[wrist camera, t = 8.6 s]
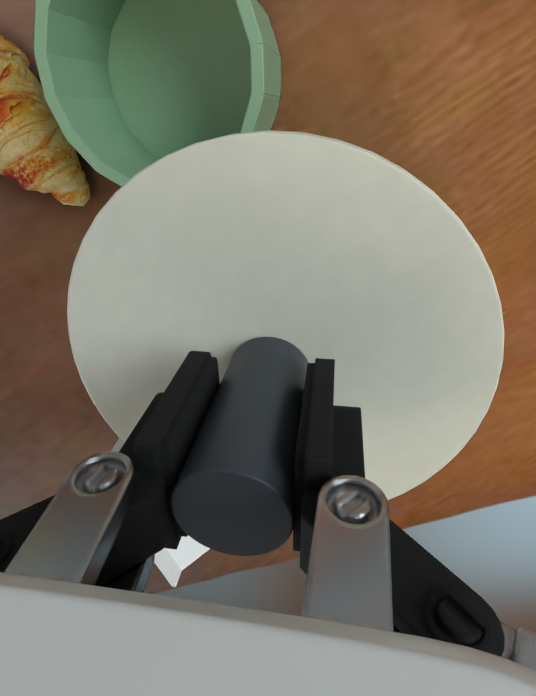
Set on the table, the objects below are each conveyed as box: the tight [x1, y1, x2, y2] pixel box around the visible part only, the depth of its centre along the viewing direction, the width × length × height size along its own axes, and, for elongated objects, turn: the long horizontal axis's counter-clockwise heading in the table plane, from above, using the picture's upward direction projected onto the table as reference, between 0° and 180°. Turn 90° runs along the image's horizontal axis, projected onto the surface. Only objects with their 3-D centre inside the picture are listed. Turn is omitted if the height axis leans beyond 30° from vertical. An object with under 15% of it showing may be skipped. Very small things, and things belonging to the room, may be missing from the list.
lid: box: [67, 130, 504, 556], centre depth 12 cm, size 14×14×7 cm
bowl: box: [34, 0, 281, 186], centre depth 26 cm, size 13×13×8 cm
